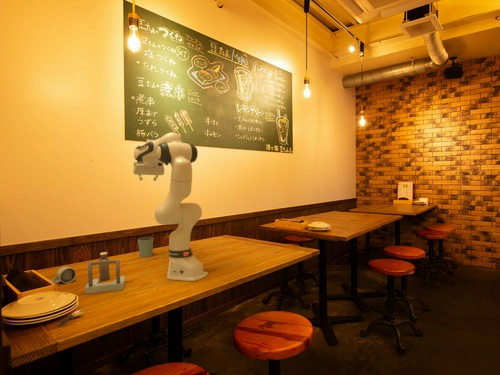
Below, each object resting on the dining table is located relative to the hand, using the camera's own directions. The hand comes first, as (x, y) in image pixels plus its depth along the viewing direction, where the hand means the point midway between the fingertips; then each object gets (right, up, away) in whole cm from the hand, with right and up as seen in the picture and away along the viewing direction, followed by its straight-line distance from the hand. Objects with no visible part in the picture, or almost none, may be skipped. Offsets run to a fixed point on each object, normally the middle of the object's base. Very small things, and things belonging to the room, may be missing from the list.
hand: (147, 180), depth 216 cm
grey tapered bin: (-1, -52, -1) cm, 52 cm away
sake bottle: (-6, -53, -51) cm, 74 cm away
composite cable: (+2, -55, -98) cm, 112 cm away
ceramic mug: (-26, -54, -54) cm, 81 cm away
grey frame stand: (+1, -54, -63) cm, 83 cm away
